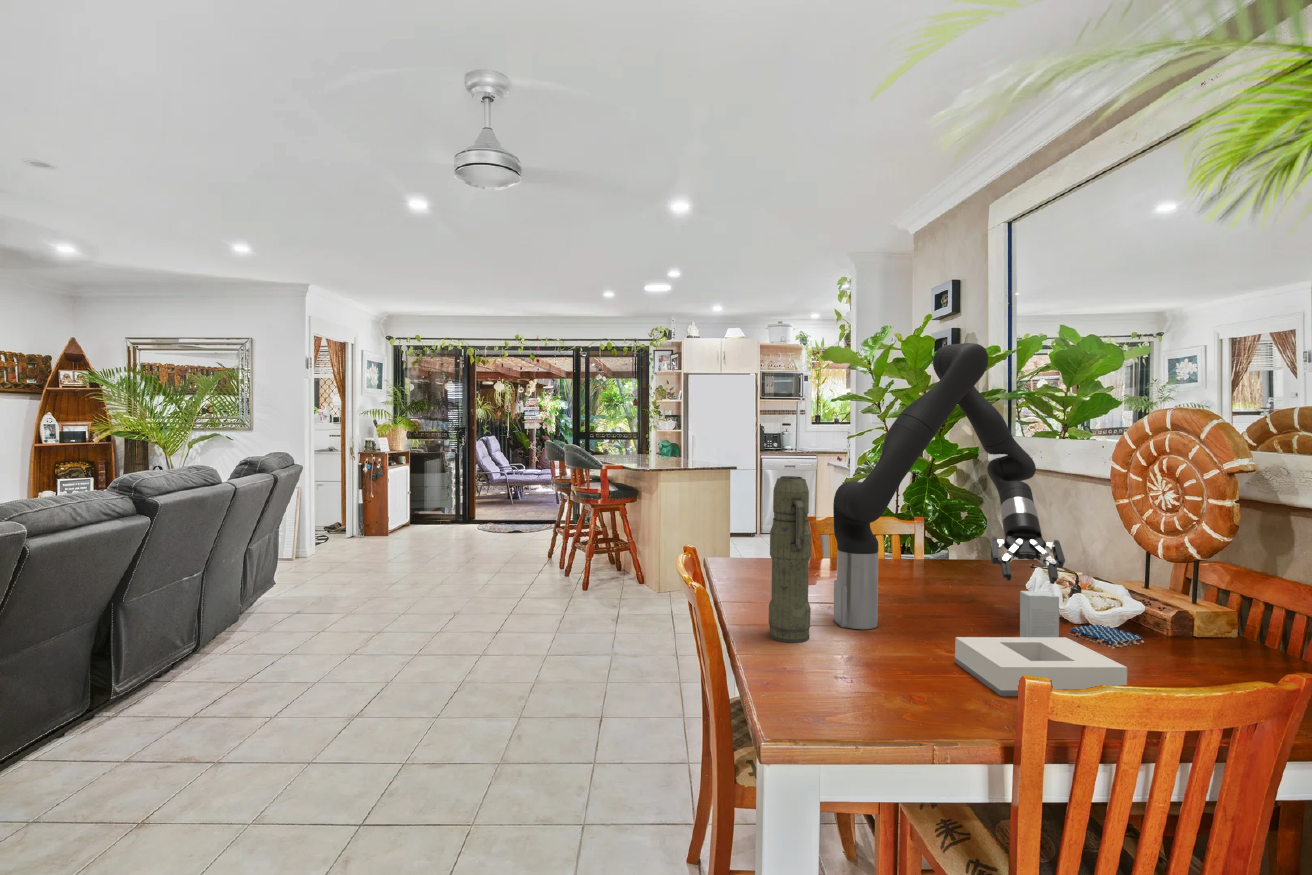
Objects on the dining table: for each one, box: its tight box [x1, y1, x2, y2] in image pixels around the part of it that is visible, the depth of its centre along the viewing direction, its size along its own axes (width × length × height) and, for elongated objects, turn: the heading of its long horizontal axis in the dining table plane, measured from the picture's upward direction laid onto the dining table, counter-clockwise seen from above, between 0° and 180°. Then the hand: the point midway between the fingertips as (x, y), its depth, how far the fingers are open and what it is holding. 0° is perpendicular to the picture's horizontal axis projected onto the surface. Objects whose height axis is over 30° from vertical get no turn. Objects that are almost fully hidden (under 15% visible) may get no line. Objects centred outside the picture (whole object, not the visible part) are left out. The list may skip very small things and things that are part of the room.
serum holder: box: [954, 636, 1128, 697], centre depth 119 cm, size 22×16×5 cm
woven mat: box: [1068, 623, 1145, 649], centre depth 143 cm, size 10×11×2 cm
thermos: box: [768, 475, 812, 644], centre depth 142 cm, size 9×12×35 cm
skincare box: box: [1019, 590, 1060, 637], centre depth 134 cm, size 6×4×12 cm
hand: (1030, 580), depth 141 cm, fingers open, 8 cm apart
